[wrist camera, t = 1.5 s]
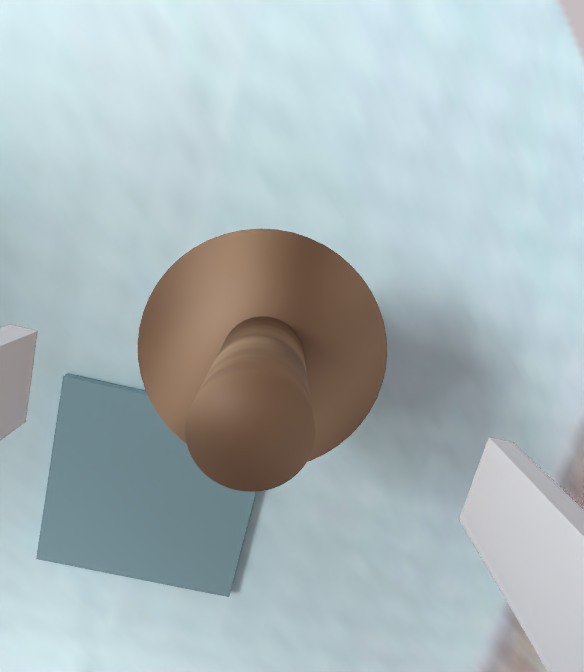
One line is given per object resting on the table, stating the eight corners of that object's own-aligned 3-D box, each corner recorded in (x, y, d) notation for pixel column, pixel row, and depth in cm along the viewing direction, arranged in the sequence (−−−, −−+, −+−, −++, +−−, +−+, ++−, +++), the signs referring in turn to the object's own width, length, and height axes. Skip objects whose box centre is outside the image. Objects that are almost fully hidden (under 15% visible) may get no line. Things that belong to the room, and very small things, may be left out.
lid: (126, 432, 23) (26, 561, 14) (168, 201, 20) (80, 181, 12) (346, 480, 23) (384, 631, 15) (412, 262, 21) (503, 288, 12)
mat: (40, 553, 34) (36, 558, 34) (67, 373, 31) (63, 376, 31) (229, 590, 35) (229, 596, 35) (273, 420, 32) (273, 423, 32)
